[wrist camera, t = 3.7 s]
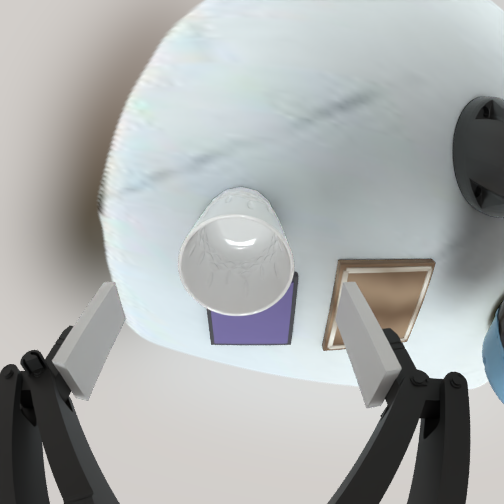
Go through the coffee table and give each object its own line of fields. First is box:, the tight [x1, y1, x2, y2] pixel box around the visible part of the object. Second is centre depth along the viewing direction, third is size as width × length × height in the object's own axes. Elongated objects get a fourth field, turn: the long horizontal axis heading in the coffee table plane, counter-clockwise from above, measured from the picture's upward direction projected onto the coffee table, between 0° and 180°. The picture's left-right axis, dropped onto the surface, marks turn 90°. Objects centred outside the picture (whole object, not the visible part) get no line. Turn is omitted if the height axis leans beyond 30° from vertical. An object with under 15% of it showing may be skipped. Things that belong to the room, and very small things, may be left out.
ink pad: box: [207, 272, 298, 345], centre depth 32 cm, size 10×10×1 cm
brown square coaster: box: [322, 259, 435, 351], centre depth 32 cm, size 13×13×1 cm
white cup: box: [178, 187, 294, 316], centre depth 23 cm, size 8×8×10 cm
